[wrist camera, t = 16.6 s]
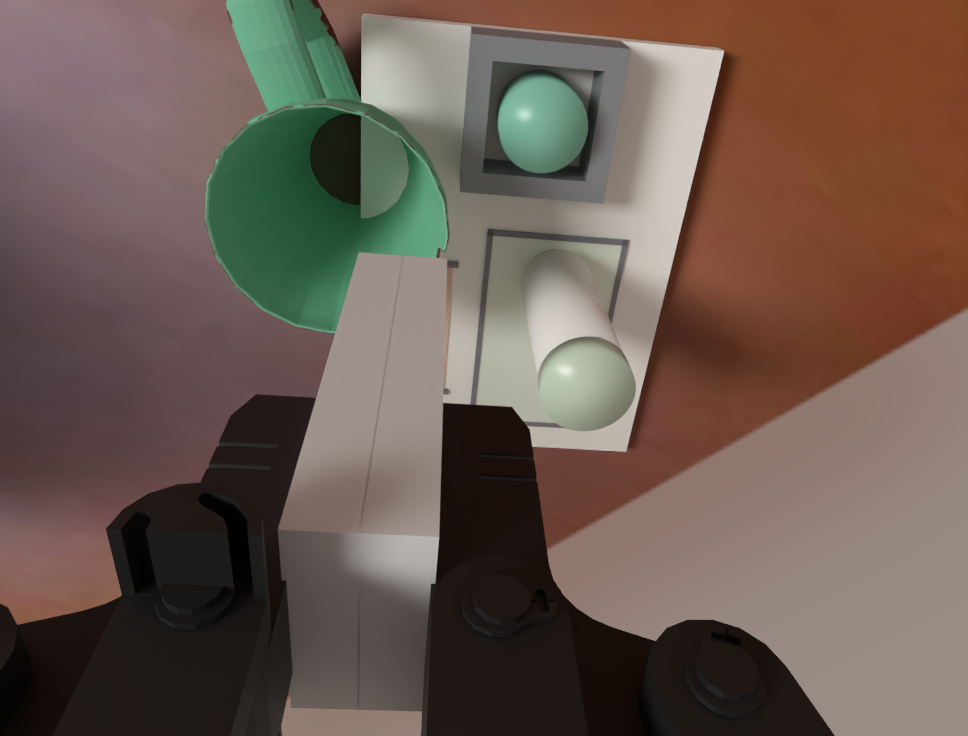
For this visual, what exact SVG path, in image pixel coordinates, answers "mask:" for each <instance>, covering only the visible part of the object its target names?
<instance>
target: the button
mask: <svg viewBox="0 0 968 736" xmlns="http://www.w3.org/2000/svg"><path fill="white" fill-rule="evenodd" d="M496 119H497V126H498V131H499V136H500V141H501V144H502V147H503V149H504V151H505V153H506V155H507V156H508V157H509V159H510V160H511V161H512V162H513V163H514V164H516V165H517V166H518V167H520V168H522V169H524V170H526V171H529V172H533V173H550V172H554V171H557V170H559V169H561V168H563V167H565V166H567V165H568V164H569V163H571V162H572V161H573V160H574V159H575V158H576V157H577V156H578V154H579V153H580V151H581V150H582V148H583V146H584V144H585V141H586V138H587V134H588V118H587V113H586V110H585V108H584V105H583V103H582V102H581V100H580V99H579V97H578V96H577V94H576V93H575V91H574V90H573V88H572V87H571V85H570V84H569V83H568V82H567V81H566V80H565V79H564V78H562V77H561V76H560V75H558V74H556V73H553V72H550V71H545V70H534V71H529V72H526V73H523V74H521V75H519V76H517V77H516V78H515V79H513V80H512V81H511V82H510V83H509V84H508V85H507V86H506V87H505V89H504V90H503V92H502V94H501V96H500V98H499V101H498V104H497V110H496Z"/></svg>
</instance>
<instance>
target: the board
mask: <svg viewBox="0 0 968 736" xmlns="http://www.w3.org/2000/svg"><path fill="white" fill-rule="evenodd" d="M723 55H724V50H722V49H720V48H716V47H706V46H696V45H685V44H675V43H665V42H655V41H644V40H634V39H624V38H613V37H603V36H593V35H583V34H572V33H562V32H552V31H542V30H531V29H521V28H511V27H500V26H490V25H480V24H470V23H459V22H449V21H439V20H428V19H418V18H408V17H398V16H387V15H377V14H367V13H364V14H363V15H362V16H361V102H363V103H367V104H371V105H374V106H375V107H377V108H378V109H380V110H382V111H383V112H385V113H387V114H388V115H390V116H392V117H393V118H395V119H397V120H398V121H399V122H400V123H401V124H402V125H403V127H404V128H405V129H406V130H407V131H408V132H409V133H410V134H411V135H412V137H413V138H414V139H415V140H416V141H417V142H418V143H419V144H420V145H421V146H422V148H423V149H424V150H425V152H426V153H427V155H428V157H429V158H430V160H431V162H432V164H433V166H434V169H435V171H436V173H437V175H438V178H439V180H440V182H441V184H442V186H443V189H444V191H445V194H446V200H447V210H448V220H449V230H450V237H449V241H448V246H447V250H446V251H445V252H443V251H442V250H441V251H440V257H439V258H444V259H447V285H446V320H445V354H444V389H443V403H455V404H472V405H489V406H506V407H513V409H514V410H515V411H516V413H517V414H518V415H519V416H520V418H521V419H522V420H523V422H524V423H525V424H526V425H527V427H528V428H529V429H530V434H531V442H532V447H549V448H567V449H586V450H604V451H622V452H626V450H627V446H628V442H629V438H630V434H631V430H632V426H633V422H634V418H635V414H636V410H637V405H638V401H639V397H640V393H641V389H642V385H643V381H644V377H645V373H646V369H647V365H648V361H649V357H650V352H651V348H652V344H653V340H654V336H655V332H656V328H657V324H658V320H659V316H660V312H661V308H662V303H663V299H664V295H665V291H666V287H667V283H668V279H669V275H670V271H671V267H672V263H673V259H674V255H675V250H676V246H677V242H678V238H679V234H680V230H681V226H682V222H683V218H684V214H685V210H686V206H687V202H688V197H689V193H690V189H691V185H692V181H693V177H694V173H695V169H696V165H697V161H698V157H699V153H700V148H701V144H702V140H703V136H704V132H705V128H706V124H707V120H708V116H709V112H710V108H711V104H712V100H713V95H714V91H715V87H716V83H717V79H718V75H719V71H720V67H721V63H722V59H723ZM534 70H545V71H550V72H553V73H556V74H558V75H560V76H561V77H562V78H564V79H565V80H566V81H567V82H568V83H569V84H570V85H571V87H572V88H573V90H574V91H575V93H576V94H577V96H578V97H579V99H580V100H581V102H582V103H583V105H584V108H585V110H586V113H587V118H588V134H587V138H586V141H585V144H584V146H583V148H582V150H581V151H580V153H579V154H578V156H577V157H576V158H575V159H574V160H573V161H572V162H571V163H569V164H568V165H567V166H565V167H563V168H561V169H559V170H557V171H554V172H550V173H533V172H529V171H526V170H524V169H522V168H520V167H518V166H517V165H516V164H514V163H513V162H512V161H511V160H510V159H509V157H508V156H507V155H506V153H505V151H504V149H503V147H502V144H501V141H500V136H499V131H498V126H497V119H496V110H497V104H498V101H499V98H500V96H501V94H502V92H503V90H504V89H505V87H506V86H507V85H508V84H509V83H510V82H511V81H512V80H513V79H515V78H516V77H517V76H519V75H521V74H523V73H526V72H529V71H534ZM408 173H409V167H408V159H407V153H406V151H405V149H404V146H403V144H402V142H401V140H400V138H399V137H398V136H397V135H395V134H393V133H392V132H390V131H388V130H387V129H385V128H383V127H382V126H380V125H378V124H377V123H375V122H373V121H372V120H370V119H368V118H367V117H365V116H361V219H362V218H371V217H374V216H376V215H379V214H381V213H383V212H386V211H387V210H388V209H389V208H390V207H391V206H393V205H394V204H395V203H396V202H397V201H398V200H399V198H400V196H401V194H402V192H403V190H404V188H405V186H406V184H407V178H408ZM550 249H560V250H564V251H568V252H571V253H573V254H575V255H577V256H579V257H580V258H581V259H582V260H583V261H584V262H585V263H586V265H587V266H588V268H589V270H590V273H591V275H592V278H593V280H594V283H595V285H596V288H597V290H598V292H599V295H600V297H601V300H602V302H603V305H604V307H605V310H606V312H607V314H608V317H609V319H610V322H611V324H612V327H613V329H614V332H615V334H616V336H617V339H618V341H619V344H620V346H621V349H622V351H623V353H624V354H625V356H626V358H627V360H628V363H629V365H630V367H631V370H632V372H633V375H634V378H635V382H636V392H635V397H634V400H633V402H632V404H631V406H630V408H629V409H628V411H627V412H626V413H625V414H624V415H623V416H622V417H621V418H620V419H619V420H617V421H616V422H614V423H613V424H611V425H609V426H607V427H604V428H601V429H598V430H594V431H574V430H570V429H567V428H564V427H562V426H560V425H558V424H557V423H555V422H554V421H553V420H552V419H550V417H549V416H548V415H547V414H546V412H545V410H544V408H543V406H542V402H541V397H540V392H539V387H538V375H537V370H536V365H535V360H534V355H533V349H532V344H531V339H530V334H529V329H528V324H527V318H526V313H525V308H524V303H523V298H522V293H521V278H522V275H523V272H524V270H525V268H526V267H527V265H528V264H529V263H530V262H531V260H532V259H533V258H534V257H535V256H536V255H538V254H539V253H541V252H543V251H546V250H550Z"/></svg>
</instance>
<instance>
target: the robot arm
mask: <svg viewBox="0 0 968 736" xmlns="http://www.w3.org/2000/svg"><path fill="white" fill-rule="evenodd" d="M446 285H447V259H444V258H430V257H416V256H403V255H389V254H375V253H361V252H359V253H358V257H357V260H356V264H355V267H354V270H353V274H352V277H351V281H350V284H349V288H348V291H347V294H346V298H345V301H344V305H343V308H342V311H341V315H340V318H339V322H338V325H337V329H336V332H335V335H334V339H333V342H332V346H331V349H330V353H329V356H328V359H327V363H326V366H325V370H324V373H323V377H322V380H321V383H320V387H319V390H318V394H317V397H316V398H309V397H292V396H275V395H257V394H256V395H255V396H254V397H253V398H251V399H250V400H249V401H248V402H247V403H245V404H244V405H243V406H242V407H241V408H239V409H238V410H237V411H236V412H235V413H233V414H232V415H231V416H230V419H229V421H228V423H227V425H226V427H225V430H224V432H223V434H222V436H221V439H220V441H219V447H216V450H215V452H214V454H213V456H212V458H211V461H210V463H209V469H206V472H205V474H204V476H203V478H202V481H201V483H191V484H178V485H174V486H171V487H168V488H165V489H162V490H158V491H155V492H152V493H149V494H147V495H145V496H144V497H142V498H141V499H139V500H137V501H136V502H134V503H132V504H131V505H129V506H127V507H126V508H124V509H123V510H122V511H121V512H120V513H119V515H118V516H117V517H116V518H115V519H114V520H113V522H112V523H111V524H110V525H109V526H108V527H107V528H106V531H107V535H108V539H109V543H110V547H111V551H112V556H113V560H114V564H115V568H116V572H117V576H118V580H119V584H120V589H121V593H122V595H121V597H119V598H117V599H115V600H113V601H111V602H109V603H106V604H104V605H101V606H97V607H94V608H91V609H87V610H84V611H80V612H76V613H71V614H66V615H62V616H57V617H52V618H48V619H43V620H39V621H34V622H29V623H25V624H20V625H17V624H16V622H15V620H14V618H13V616H12V614H11V612H10V611H9V609H8V608H7V607H6V606H4V605H2V604H0V736H282V731H281V723H282V718H283V714H284V709H285V705H286V700H287V696H288V691H289V687H290V698H291V708H320V709H357V710H395V711H422V729H421V736H834V734H833V733H832V731H831V730H830V728H829V727H828V726H827V724H826V723H825V721H824V720H823V718H822V717H821V716H820V714H819V713H818V711H817V710H816V709H815V707H814V706H813V704H812V703H811V701H810V700H809V698H808V697H807V696H806V694H805V693H804V691H803V690H802V688H801V687H800V686H799V684H798V683H797V681H796V680H795V678H794V677H793V675H792V674H791V673H790V671H789V670H788V668H787V667H786V666H785V665H784V664H783V662H782V661H781V660H780V659H779V658H778V657H777V656H776V655H775V654H774V653H773V652H772V651H771V650H770V649H769V648H768V647H767V645H766V644H764V643H762V642H761V641H759V640H757V639H756V638H755V637H753V636H751V635H750V634H748V633H747V632H745V631H743V630H742V629H740V628H737V627H734V626H731V625H728V624H724V623H721V622H718V621H715V620H686V621H684V622H681V623H678V624H676V625H673V626H671V627H668V628H666V630H665V631H664V632H663V633H662V634H661V636H660V637H659V638H658V639H657V641H653V640H650V639H647V638H643V637H641V636H637V635H634V634H631V633H628V632H625V631H622V630H619V629H616V628H613V627H610V626H608V625H605V624H603V623H601V622H598V621H596V620H594V619H592V618H590V617H589V616H587V615H586V614H584V613H583V612H581V611H580V610H578V609H577V608H576V607H575V606H574V605H573V604H571V602H570V601H569V600H568V599H566V597H565V596H564V595H563V594H562V593H561V590H560V589H559V588H558V587H557V585H556V583H555V582H554V580H553V577H552V574H551V570H550V567H549V562H548V556H547V548H546V541H545V534H544V527H543V520H542V513H541V505H540V498H539V491H538V484H537V483H536V470H535V463H534V461H533V449H532V442H531V434H530V429H529V428H528V427H527V425H526V424H525V423H524V422H523V420H522V419H521V418H520V416H519V415H518V414H517V413H516V411H515V410H514V409H513V407H506V406H489V405H472V404H455V403H443V389H444V354H445V320H446Z"/></svg>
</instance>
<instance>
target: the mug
mask: <svg viewBox="0 0 968 736" xmlns="http://www.w3.org/2000/svg"><path fill="white" fill-rule="evenodd" d="M226 11H227V13H228V16H229V18H230V21H231V24H232V26H233V29H234V32H235V34H236V37H237V39H238V42H239V45H240V47H241V50H242V53H243V55H244V57H245V60H246V62H247V64H248V66H249V69H250V71H251V73H252V76H253V78H254V80H255V82H256V85H257V87H258V89H259V92H260V94H261V96H262V98H263V101H264V103H265V105H266V107H267V110H268V111H267V112H265V113H263V114H261V115H258V116H256V117H254V118H252V119H251V120H250V121H249V122H248V123H247V124H246V125H245V126H244V127H243V128H242V129H241V130H240V131H239V132H238V133H237V134H236V135H235V136H234V137H233V138H232V139H231V140H230V141H229V142H228V143H227V144H226V145H225V146H224V147H223V148H222V149H221V151H220V153H219V156H218V158H217V160H216V163H215V165H214V167H213V170H212V172H211V174H210V176H209V179H208V181H207V183H206V203H205V223H206V227H207V230H208V233H209V237H210V240H211V244H212V247H213V251H214V254H215V257H216V258H217V260H218V261H219V263H220V264H221V266H222V267H223V269H224V270H225V272H226V273H227V275H228V277H229V278H230V280H231V281H232V283H233V284H234V286H235V287H236V288H237V289H238V290H240V291H241V292H242V293H243V294H244V295H245V296H246V297H248V298H249V299H250V300H251V301H252V302H253V303H254V304H256V305H257V306H258V307H259V308H260V309H261V310H262V311H264V312H266V313H268V314H270V315H272V316H274V317H276V318H278V319H280V320H282V321H284V322H286V323H288V324H291V325H293V326H295V327H298V328H303V329H308V330H313V331H318V332H323V333H328V334H335V332H336V329H337V325H338V322H339V318H340V315H341V311H342V308H343V305H344V301H345V298H346V294H347V291H348V288H349V284H350V281H351V277H352V274H353V270H354V267H355V264H356V260H357V257H358V253H359V252H361V253H375V254H389V255H403V256H416V257H430V258H439V257H440V251H441V250H442V251H443V252H445V251H446V250H447V246H448V241H449V237H450V230H449V220H448V210H447V200H446V194H445V191H444V189H443V186H442V184H441V182H440V180H439V178H438V175H437V173H436V171H435V169H434V166H433V164H432V162H431V160H430V158H429V157H428V155H427V153H426V152H425V150H424V149H423V148H422V146H421V145H420V144H419V143H418V142H417V141H416V140H415V139H414V138H413V137H412V135H411V134H410V133H409V132H408V131H407V130H406V129H405V128H404V127H403V125H402V124H401V123H400V122H399V121H398V120H397V119H395V118H393V117H392V116H390V115H388V114H387V113H385V112H383V111H382V110H380V109H378V108H377V107H375V106H374V105H371V104H367V103H363V102H361V99H360V97H359V94H358V92H357V89H356V87H355V84H354V81H353V79H352V76H351V74H350V71H349V69H348V66H347V63H346V61H345V58H344V56H343V53H342V51H341V48H340V45H339V43H338V40H337V38H336V35H335V33H334V30H333V28H332V26H331V25H330V23H329V21H328V19H327V17H326V15H325V13H324V12H323V10H322V8H321V6H320V4H319V2H318V0H226ZM341 114H356V115H360V116H365V117H367V118H368V119H370V120H372V121H373V122H375V123H377V124H378V125H380V126H382V127H383V128H385V129H387V130H388V131H390V132H392V133H393V134H395V135H397V136H398V137H399V138H400V140H401V142H402V144H403V146H404V149H405V151H406V153H407V159H408V167H409V173H408V178H407V184H406V186H405V188H404V190H403V192H402V194H401V196H400V198H399V200H398V201H397V202H396V203H395V204H394V205H393V206H391V207H390V208H389V209H388V210H387V211H386V212H383V213H381V214H379V215H376V216H374V217H371V218H362V219H361V205H355V204H350V203H346V202H342V201H340V200H338V199H337V198H335V197H333V196H331V195H330V194H329V193H328V192H327V191H326V190H325V189H324V188H323V187H322V186H321V185H320V184H319V183H318V181H317V179H316V177H315V175H314V173H313V171H312V167H311V161H310V150H311V142H312V140H313V138H314V136H315V134H316V132H317V130H318V129H319V128H320V127H321V126H322V125H323V124H324V123H326V122H327V121H328V120H329V119H332V118H334V117H336V116H339V115H341Z"/></svg>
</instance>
